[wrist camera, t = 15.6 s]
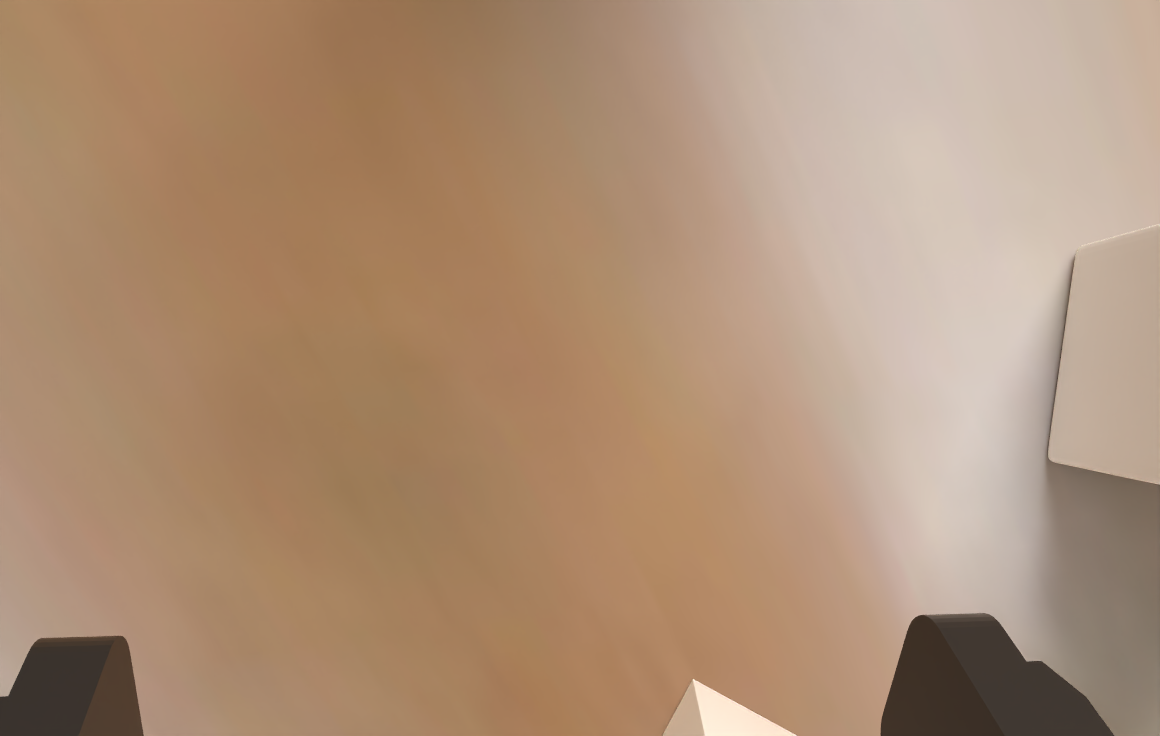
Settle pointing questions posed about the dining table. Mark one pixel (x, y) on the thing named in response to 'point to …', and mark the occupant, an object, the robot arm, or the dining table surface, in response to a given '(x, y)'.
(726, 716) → the white feeder tower
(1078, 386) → the milk carton
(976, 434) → the dining table surface
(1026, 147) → the dining table surface
